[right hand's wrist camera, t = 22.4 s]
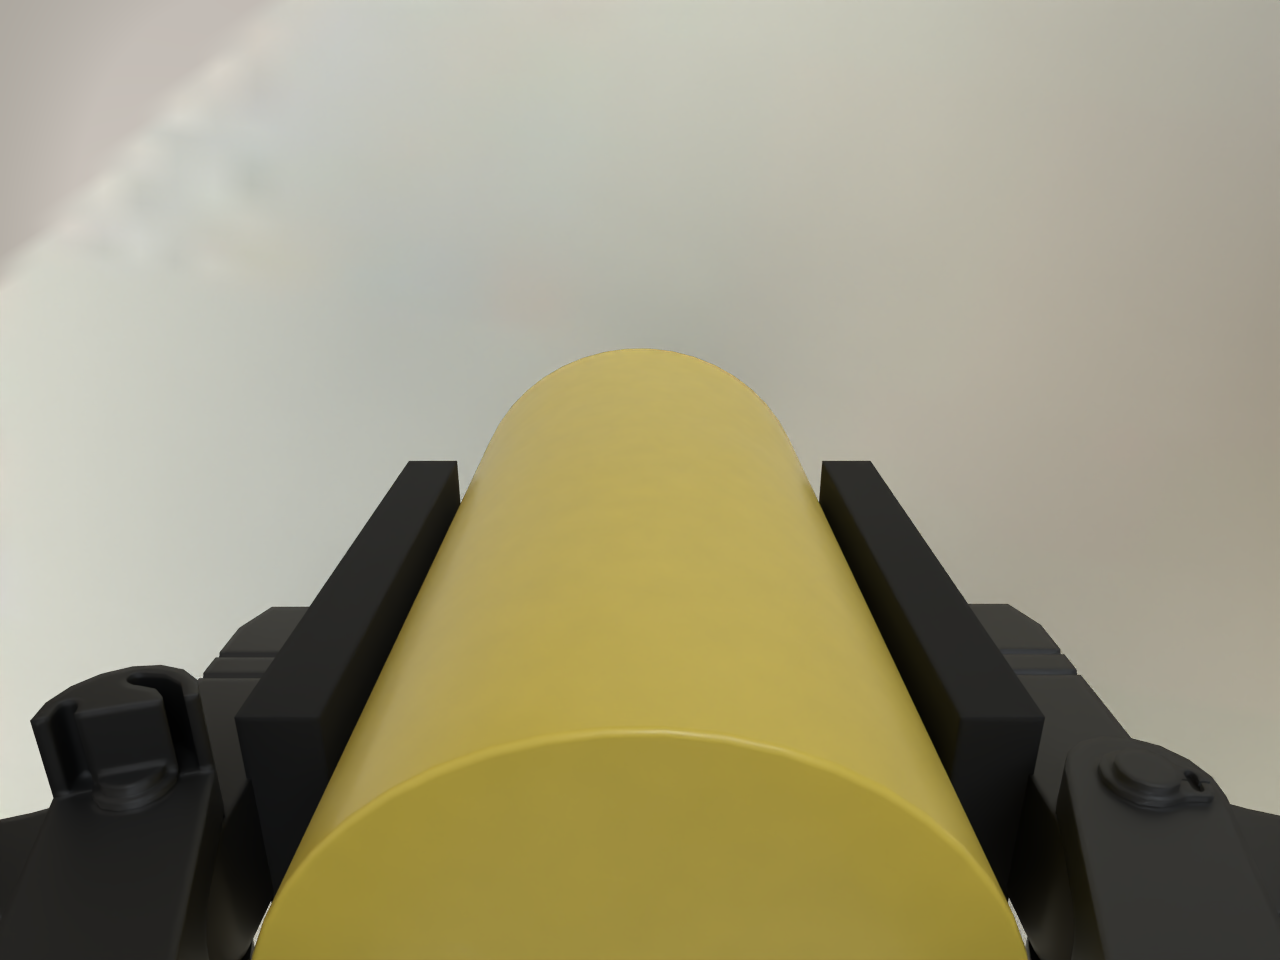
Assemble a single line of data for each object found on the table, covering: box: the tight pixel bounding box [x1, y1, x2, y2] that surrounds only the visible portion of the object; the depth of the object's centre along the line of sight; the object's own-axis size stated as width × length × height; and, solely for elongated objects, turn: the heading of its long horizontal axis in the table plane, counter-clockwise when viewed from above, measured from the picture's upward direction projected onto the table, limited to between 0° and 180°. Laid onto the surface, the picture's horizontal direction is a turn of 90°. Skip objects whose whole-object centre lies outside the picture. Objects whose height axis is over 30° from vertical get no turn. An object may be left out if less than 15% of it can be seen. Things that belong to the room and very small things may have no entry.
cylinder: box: [251, 349, 1028, 960], centre depth 11 cm, size 6×6×10 cm
